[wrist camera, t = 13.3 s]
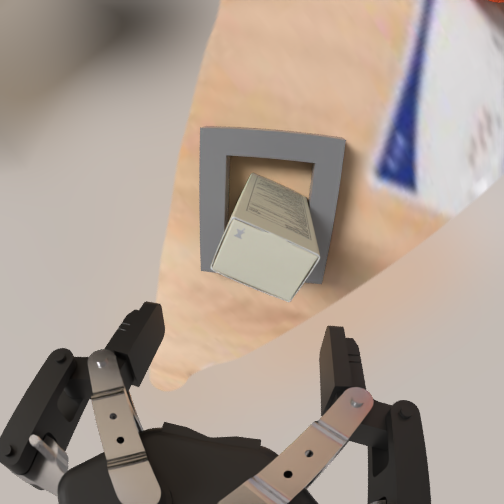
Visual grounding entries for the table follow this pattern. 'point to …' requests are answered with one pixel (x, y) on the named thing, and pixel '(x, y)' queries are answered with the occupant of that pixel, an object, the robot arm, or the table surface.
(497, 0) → the clementine
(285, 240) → the skincare box
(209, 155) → the holder
